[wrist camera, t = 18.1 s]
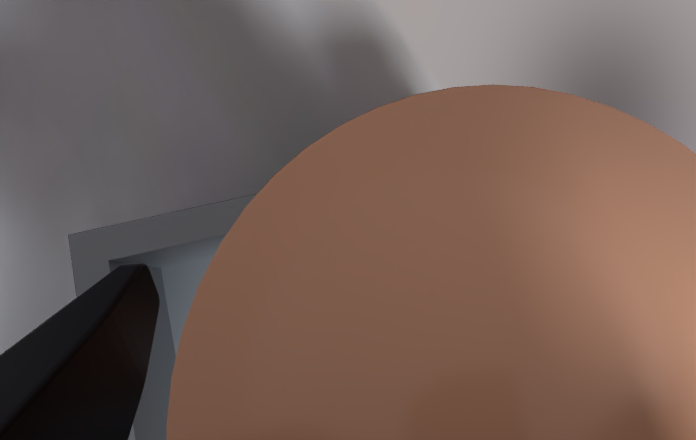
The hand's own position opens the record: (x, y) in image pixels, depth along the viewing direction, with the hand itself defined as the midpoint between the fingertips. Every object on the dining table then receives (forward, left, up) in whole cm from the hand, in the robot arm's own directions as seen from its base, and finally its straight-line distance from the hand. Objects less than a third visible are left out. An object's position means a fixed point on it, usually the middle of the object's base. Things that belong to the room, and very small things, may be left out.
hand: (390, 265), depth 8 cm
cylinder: (-1, 0, -9) cm, 9 cm away
